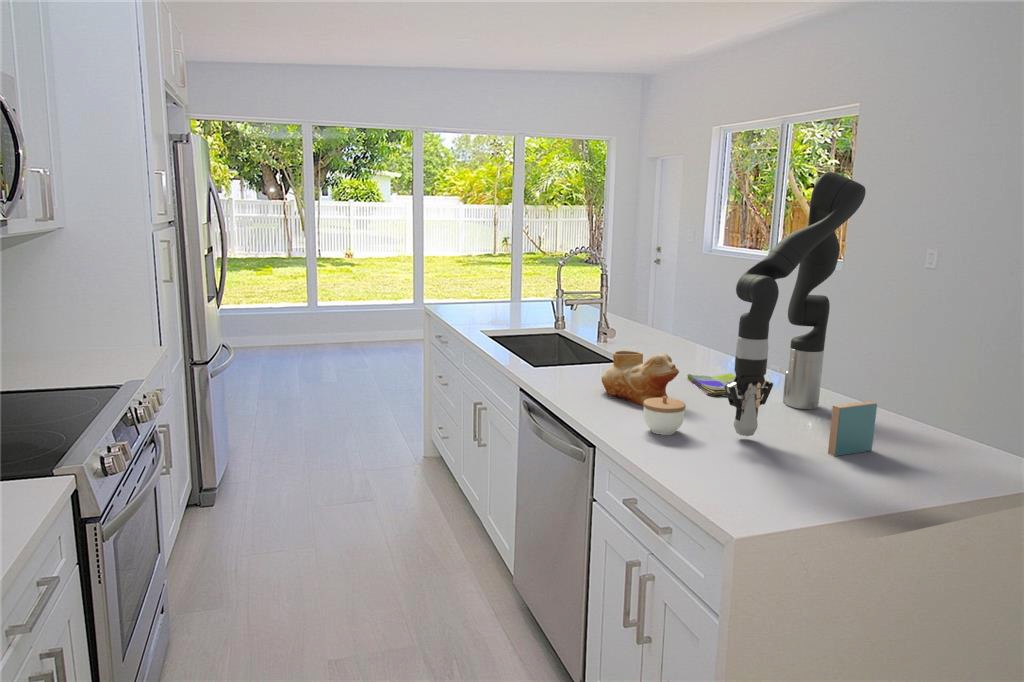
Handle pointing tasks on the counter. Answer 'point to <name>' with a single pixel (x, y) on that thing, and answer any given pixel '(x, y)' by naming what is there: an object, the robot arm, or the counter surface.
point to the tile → (852, 428)
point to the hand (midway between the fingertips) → (746, 421)
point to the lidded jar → (663, 414)
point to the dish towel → (712, 383)
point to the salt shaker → (748, 416)
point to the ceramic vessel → (638, 376)
